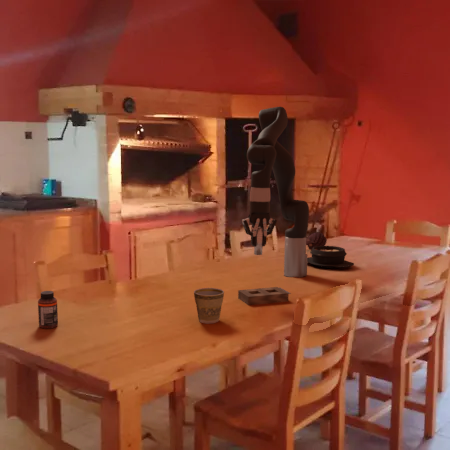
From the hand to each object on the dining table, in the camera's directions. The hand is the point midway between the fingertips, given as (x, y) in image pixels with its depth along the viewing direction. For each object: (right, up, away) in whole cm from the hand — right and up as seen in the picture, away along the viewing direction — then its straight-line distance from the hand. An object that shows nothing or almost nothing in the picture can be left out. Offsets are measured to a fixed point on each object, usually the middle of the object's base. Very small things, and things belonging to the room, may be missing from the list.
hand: (258, 246), depth 236 cm
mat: (+7, -19, +14) cm, 24 cm away
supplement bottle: (-69, -25, -31) cm, 80 cm away
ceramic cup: (-17, -24, -22) cm, 37 cm away
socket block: (+2, -21, +1) cm, 21 cm away
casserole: (+36, -12, +64) cm, 74 cm away
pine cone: (+36, -6, +100) cm, 107 cm away
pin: (0, -3, 0) cm, 3 cm away
